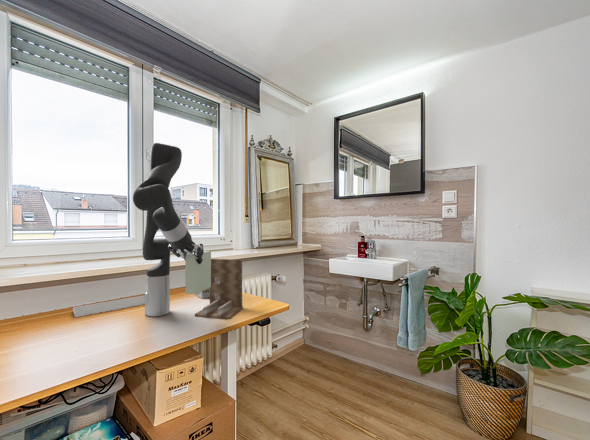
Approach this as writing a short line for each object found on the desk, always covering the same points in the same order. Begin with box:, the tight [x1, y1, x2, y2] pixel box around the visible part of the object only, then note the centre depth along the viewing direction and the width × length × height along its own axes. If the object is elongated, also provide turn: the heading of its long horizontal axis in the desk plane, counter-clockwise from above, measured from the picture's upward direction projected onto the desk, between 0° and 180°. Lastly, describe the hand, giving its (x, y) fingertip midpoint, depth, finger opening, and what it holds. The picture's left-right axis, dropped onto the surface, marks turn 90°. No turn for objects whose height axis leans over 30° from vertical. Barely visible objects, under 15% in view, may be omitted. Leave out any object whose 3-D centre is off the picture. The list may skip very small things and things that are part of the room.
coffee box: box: [194, 287, 210, 299], centre depth 155 cm, size 9×6×16 cm
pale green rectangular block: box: [184, 250, 212, 295], centre depth 114 cm, size 5×12×15 cm, turn 167°
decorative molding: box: [72, 294, 145, 318], centre depth 137 cm, size 34×5×10 cm
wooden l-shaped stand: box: [194, 258, 244, 320], centre depth 129 cm, size 16×15×23 cm
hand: (195, 262), depth 111 cm, fingers closed on pale green rectangular block, 4 cm apart
